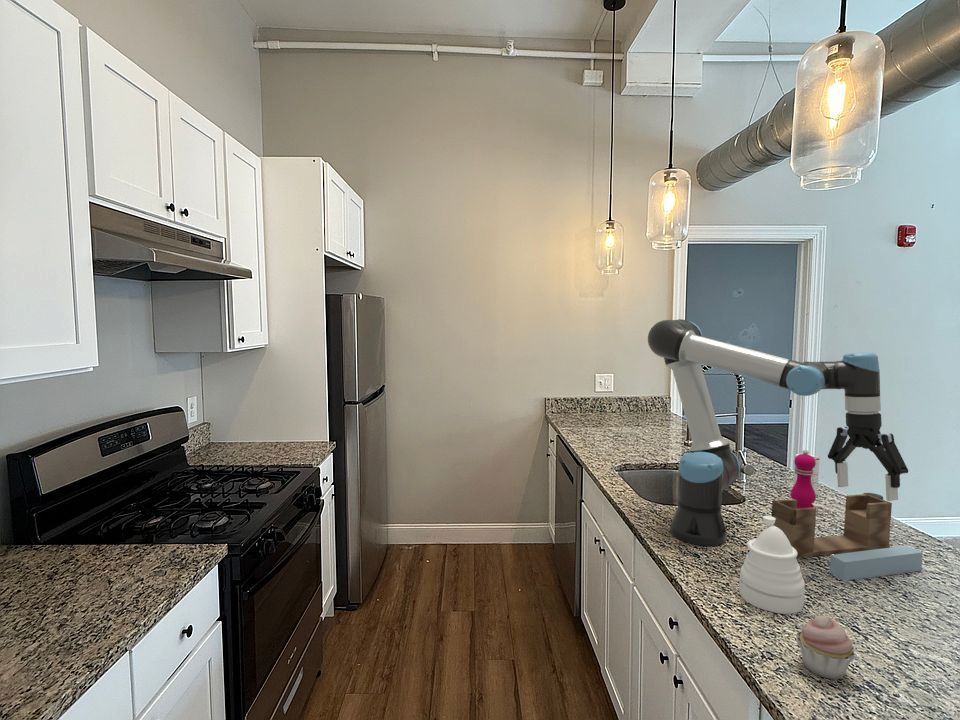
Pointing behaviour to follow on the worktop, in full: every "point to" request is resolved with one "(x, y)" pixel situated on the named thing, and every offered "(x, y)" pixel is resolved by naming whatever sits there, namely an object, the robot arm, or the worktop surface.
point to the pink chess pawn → (814, 477)
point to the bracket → (861, 526)
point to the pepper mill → (804, 481)
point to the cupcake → (825, 647)
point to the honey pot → (772, 572)
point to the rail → (875, 562)
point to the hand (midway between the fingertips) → (866, 493)
